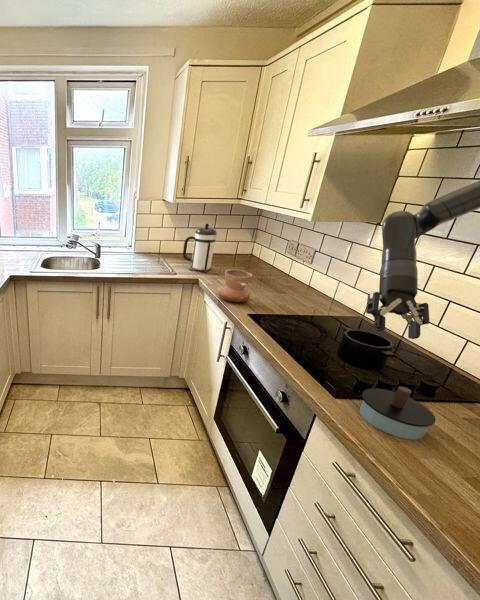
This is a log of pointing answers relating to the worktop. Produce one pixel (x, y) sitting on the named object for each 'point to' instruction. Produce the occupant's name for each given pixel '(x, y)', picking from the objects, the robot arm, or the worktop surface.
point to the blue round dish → (391, 424)
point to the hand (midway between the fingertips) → (396, 334)
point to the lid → (399, 406)
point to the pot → (364, 349)
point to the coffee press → (201, 248)
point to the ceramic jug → (235, 286)
